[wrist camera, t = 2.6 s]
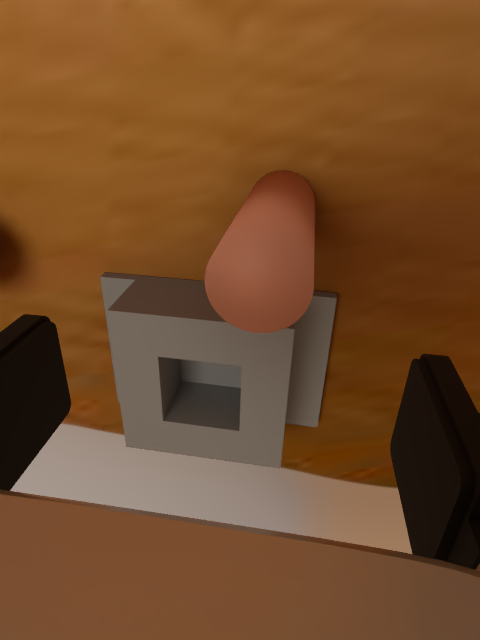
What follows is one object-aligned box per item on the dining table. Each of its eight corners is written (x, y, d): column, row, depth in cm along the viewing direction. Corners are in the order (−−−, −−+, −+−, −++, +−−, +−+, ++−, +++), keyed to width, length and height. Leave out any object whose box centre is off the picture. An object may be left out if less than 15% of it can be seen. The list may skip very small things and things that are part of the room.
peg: (318, 172, 25) (320, 236, 14) (311, 239, 27) (307, 338, 16) (250, 168, 25) (203, 228, 15) (247, 234, 27) (205, 327, 17)
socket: (336, 293, 28) (340, 333, 24) (317, 420, 34) (317, 473, 29) (105, 272, 30) (67, 306, 26) (122, 395, 35) (93, 442, 31)
